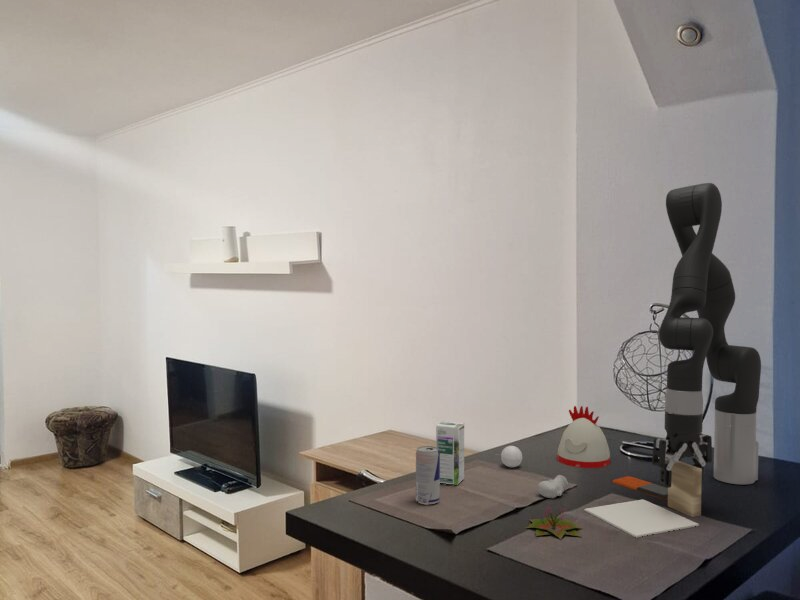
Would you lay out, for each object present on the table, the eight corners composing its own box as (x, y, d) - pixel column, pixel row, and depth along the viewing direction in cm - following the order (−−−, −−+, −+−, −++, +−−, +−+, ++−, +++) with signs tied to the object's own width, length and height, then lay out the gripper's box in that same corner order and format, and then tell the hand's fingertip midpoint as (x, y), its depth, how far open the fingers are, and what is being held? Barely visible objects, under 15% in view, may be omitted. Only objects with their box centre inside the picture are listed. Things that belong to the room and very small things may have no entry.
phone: (628, 475, 169) (682, 491, 156) (628, 480, 169) (682, 496, 156) (611, 479, 165) (664, 496, 153) (611, 484, 165) (664, 502, 153)
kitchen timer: (569, 451, 194) (569, 399, 193) (616, 459, 186) (617, 405, 185) (549, 462, 183) (550, 407, 182) (599, 471, 174) (600, 413, 174)
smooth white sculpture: (548, 506, 152) (532, 493, 156) (572, 498, 157) (556, 486, 161) (552, 489, 151) (536, 477, 155) (576, 482, 155) (560, 470, 159)
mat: (643, 501, 152) (643, 499, 151) (698, 526, 137) (698, 524, 137) (584, 510, 146) (584, 508, 146) (635, 537, 131) (636, 535, 131)
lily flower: (519, 519, 142) (520, 498, 142) (577, 520, 141) (577, 498, 141) (528, 542, 130) (528, 519, 130) (591, 543, 129) (591, 519, 129)
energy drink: (443, 499, 153) (443, 447, 152) (434, 507, 148) (434, 453, 147) (421, 496, 155) (421, 444, 154) (412, 503, 150) (412, 450, 150)
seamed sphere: (525, 466, 179) (525, 445, 179) (517, 471, 174) (517, 450, 174) (499, 461, 183) (499, 441, 183) (490, 466, 178) (490, 445, 178)
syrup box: (435, 483, 164) (435, 424, 163) (442, 477, 170) (443, 419, 169) (457, 486, 162) (457, 426, 161) (464, 479, 167) (464, 421, 167)
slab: (676, 504, 149) (677, 460, 149) (701, 515, 143) (702, 468, 142) (667, 506, 148) (668, 461, 148) (692, 516, 142) (693, 470, 141)
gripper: (695, 404, 151) (693, 476, 151) (644, 408, 146) (643, 482, 146) (722, 411, 144) (720, 486, 144) (670, 415, 139) (668, 493, 139)
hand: (681, 484), depth 145 cm, fingers open, 8 cm apart
